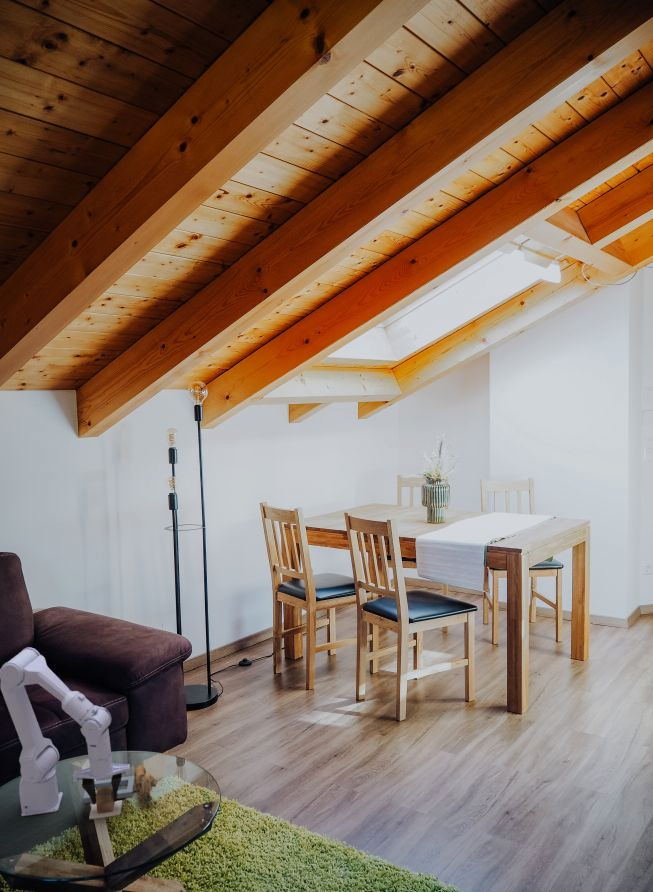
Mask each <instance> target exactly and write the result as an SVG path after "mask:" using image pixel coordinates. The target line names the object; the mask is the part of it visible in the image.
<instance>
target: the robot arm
mask: <svg viewBox="0 0 653 892" xmlns="http://www.w3.org/2000/svg"><path fill="white" fill-rule="evenodd" d="M36 684H37V685H39V686H40V687H42V689H44V690H45V691H47V692H48V693H50V695H52V696H54V697H55V698H56V699H58V700H59V701H60V702H61V709H62V710H63V711H64V712H65V713H66V714H67V715H68V716H70V717H71V718H72V719H73V720H74V721H75V722H77V723H78V724H79V726H80V727H81V728H80V732H81V734H82V735H83V737H84V738H85V742H86V745H87V746H86V747H87V753H88V754H87V755H88V762H89V767H86V768H84V769H79V770H75V771H73V775H72V780H73V783H77V782H79V781H81V780H82V782H81V786H82V787H81V788H82V789H84V792H85V791H86V792H87V793H88V795H89V796H90V798H91V800H92V802H91V803H92V804H93V805H94V804H96V793H97V790H96V789H95V783H94V781H95V780H104V779H107V778H110V777H111V779H112V780H111V784H112V788H113V800H114V802H116V801H118V800H117V791H118V790H119V787H120V786H119V784H120V782H121V778H122V777H123V775H126V776H131V765H130V763H127V764H126V763H125V764H122V763H113V759H112V750H111V749H112V747H111V740H110V732H109V726H110V725H111V723H112V715H111V713H110V712H109V710H108V709H107V708H105V707H102V706H98V705H94V704H93V703H92V702H91V701H90V700H89V699H87V697H86V695H84V694H83V693H82V692H80V691H78V690H73V691H72V690H70V688H69V687H68V686H67V685H66V684H65V683H64V682H63V681H62V680H61V679H60V677H59V676H57V675H56V673H54V672H53V671H52V670H51V669H50V668H49V667H48V665H47V661H46V658H45V657H44V656H43V655H42V654H41V653H40V652H39V651H38V650H37V649H36V648H33V647H26V648H23V649H22V650H21V651H20V652H19V653H18V654H17V655H15V656H14V657H12V658H11V659H10V660H9V661H7V662H5V663H3V664H2V666H1V668H0V691H1V693H2V696H3V698H4V701H5V702H4V703H5V704H6V706H7V709H8V712H9V716H10V717H11V720H12V722H13V724H14V727H15V731H16V732H17V735H18V738H19V741H20V743H21V746H22V750H21V752H20V756H19V760H18V762H19V764H20V775H21V778H20V781H19V786H18V787H19V788H18V789H19V790H18V791H19V792H18V794H19V801H20V807H21V808H20V809H21V814H20V815H21V817H26V816H33V815H40V814H49V813H54V812H57V811H59V809H60V804H61V802H62V799H63V795H64V792H61V791H60V792H59V788H58V779H57V773H56V772H57V771H56V769H57V765H56V764H57V763H58V762H59V760H60V753H59V750H58V749H57V747H56V746H55V745H54V744H53V742H52V740H51V739H50V738H46V737H44V736H43V734H42V733H43V732H42V730H41V728H40V724H39V722H38V721H37V720H38V719H37V717H36V714H35V712H34V709H33V707H32V704H31V701H30V698H29V695H28V693H27V690H26V687H25V686H28V685H36Z"/></svg>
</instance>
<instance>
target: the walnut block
mask: <svg viewBox="0 0 653 892" xmlns="http://www.w3.org/2000/svg"><path fill="white" fill-rule="evenodd" d="M96 804H97V813H98V814H100V813H107V812H113V809H114V804H115V802H114V800H113V788H112V786H108V787H101V788H98V789H96Z"/></svg>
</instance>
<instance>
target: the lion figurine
mask: <svg viewBox="0 0 653 892" xmlns="http://www.w3.org/2000/svg"><path fill="white" fill-rule="evenodd" d="M133 773H134V774H133V776H134V779H135V786H134V792H133V793H137V798H138V803H137V804H139V805H142V804H143V803H144V799H143V796H145V795H146V799H147V800H148V801H151V800H152V799H153V796H151V791H152V790H153V788H156V787H157V784H158V782H159V780H158V779H157V778H154V776H152V774H151V773H150V772H148V773H147V770H146V768H145V766H144V765H141V764H140V765H138V766H137V767H135V769H134V772H133Z"/></svg>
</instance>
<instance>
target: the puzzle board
mask: <svg viewBox="0 0 653 892" xmlns="http://www.w3.org/2000/svg"><path fill="white" fill-rule="evenodd" d="M111 780H112V778H108V779H107V778H105V779H97V780H94V783H95V788H97V789H98V788H101V787H108V786H112V784H111ZM120 786H126V787H127V788H125V789H118V791H117V799H119V800H120V799H125V798H133V797H134V793H135V792H134V789H135V779H134V775H127V776H122V778H121V782H120V784H119V787H120ZM97 789H96V790H97ZM82 801H83V802H82V803H83V804H90V803H92V800H91V798H90V796H89V795H88V793H87V792H86V791H85V790H84V794H83V797H82Z"/></svg>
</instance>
